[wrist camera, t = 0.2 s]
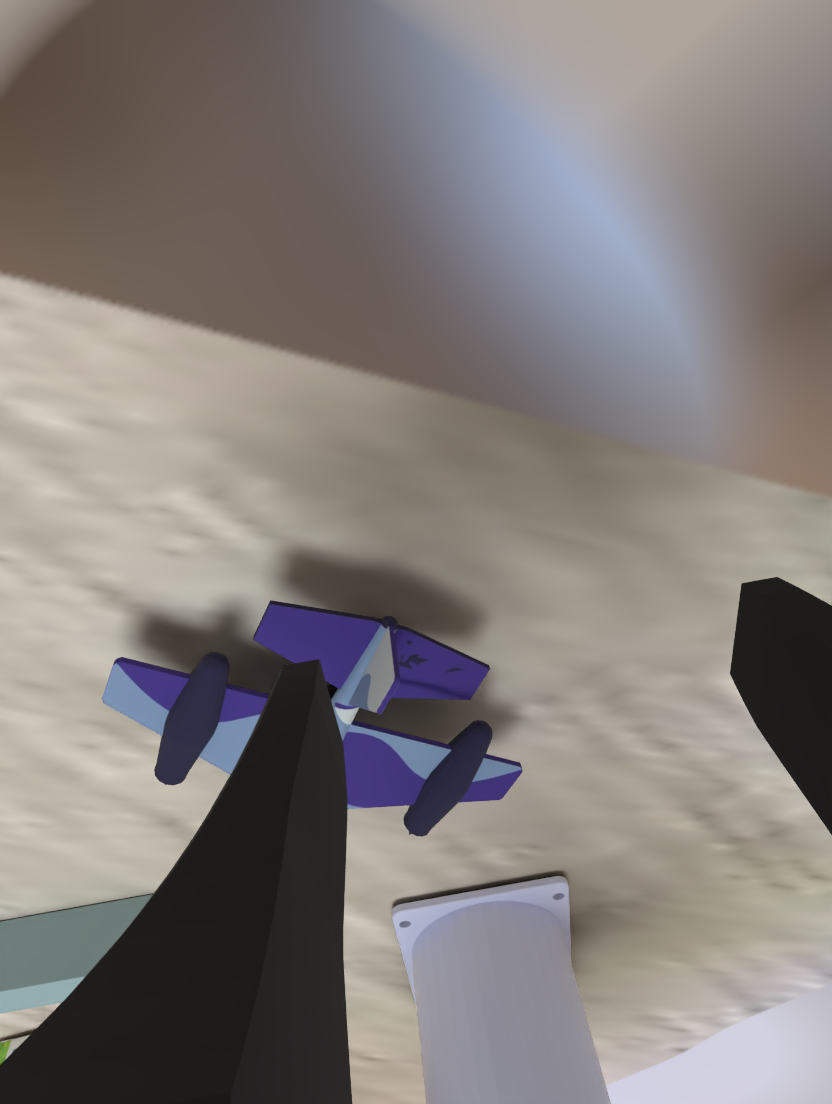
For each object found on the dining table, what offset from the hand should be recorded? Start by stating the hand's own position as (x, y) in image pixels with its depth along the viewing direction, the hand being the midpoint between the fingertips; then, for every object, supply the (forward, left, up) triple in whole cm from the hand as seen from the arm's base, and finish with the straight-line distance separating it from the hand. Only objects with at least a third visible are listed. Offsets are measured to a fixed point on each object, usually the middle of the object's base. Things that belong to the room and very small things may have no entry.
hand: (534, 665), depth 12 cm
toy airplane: (-10, +6, -10) cm, 15 cm away
